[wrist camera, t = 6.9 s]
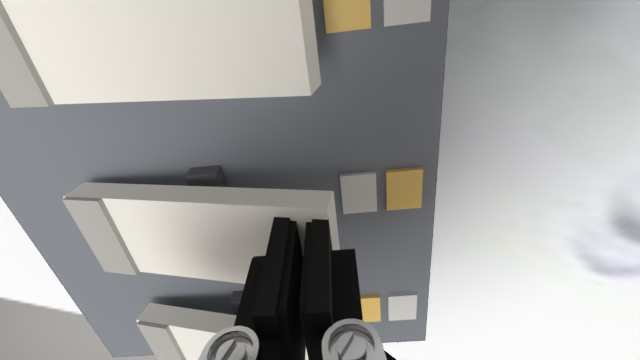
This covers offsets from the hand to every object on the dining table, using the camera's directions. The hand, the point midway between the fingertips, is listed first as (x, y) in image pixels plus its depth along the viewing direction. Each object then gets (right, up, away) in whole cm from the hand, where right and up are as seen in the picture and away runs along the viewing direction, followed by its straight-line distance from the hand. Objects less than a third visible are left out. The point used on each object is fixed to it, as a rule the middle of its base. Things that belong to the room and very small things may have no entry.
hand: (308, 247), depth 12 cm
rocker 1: (-5, +6, -3) cm, 8 cm away
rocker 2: (-4, 0, +1) cm, 4 cm away
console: (-4, +4, +7) cm, 9 cm away
